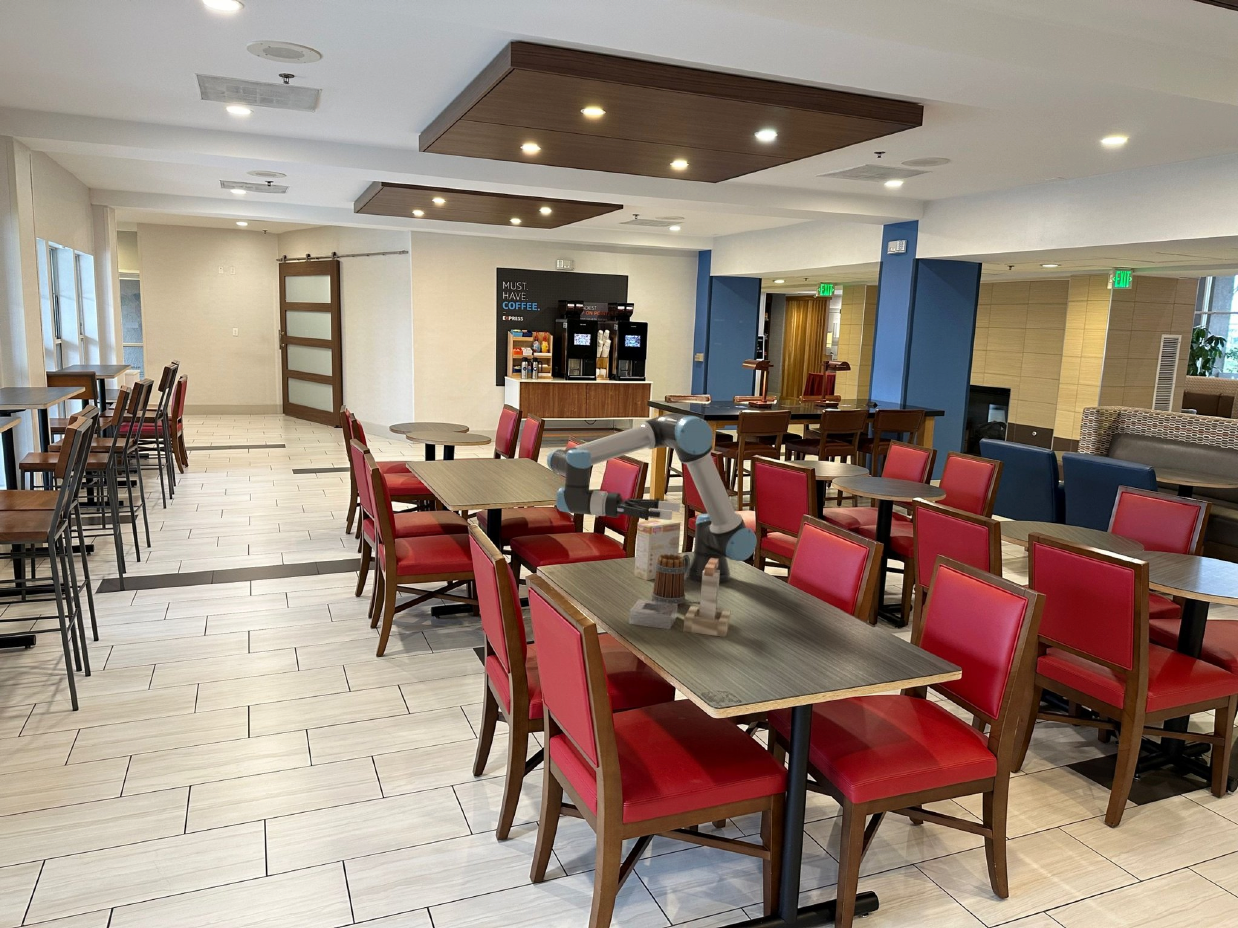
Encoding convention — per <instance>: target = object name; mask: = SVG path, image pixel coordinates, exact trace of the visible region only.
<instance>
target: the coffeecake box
mask: <svg viewBox="0 0 1238 928" xmlns="http://www.w3.org/2000/svg"><path fill="white" fill-rule="evenodd" d="M681 523H682V522H680V521H678V520H674V519H672V520H664V519H655V520H650V521H649V520H645V521H639V522H637V526H636V527H637V528H636V532H637V533H636V546H635V547H636V549H635V563H634V577H637V578H640V579H642V580H644V581H650V580H655V576H656V565H657V561H658V557H659V556H660V555H664V554H668V555H670V554H674V555H680V554H679V553H680V552H679V550H680V538H681V537H680V536H681Z"/></svg>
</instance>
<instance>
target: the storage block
mask: <svg viewBox="0 0 1238 928" xmlns="http://www.w3.org/2000/svg"><path fill="white" fill-rule="evenodd" d="M699 613H700V606H696V605H690V607H689V609H688V610H687V612H686V614H685V616H684V619H683V620H684V621H683V632H688V633H692V634H693V633H695V634H703V635H709V636H717V637H723V638H725V637H726V636H727V632H728V631H729V627H730V624H731V614H732V612H731V610H727V609H726V610H725V609H719V608H717V612H716V619H710V618H702V617H699Z"/></svg>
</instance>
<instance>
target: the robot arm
mask: <svg viewBox="0 0 1238 928" xmlns="http://www.w3.org/2000/svg"><path fill="white" fill-rule="evenodd" d="M713 438H714V433H713V429H712V428H711V426H710V424H709V423H708V421H706V420H705V419H702V418H701V417H698V416H696V415H687V414H683V413H679V412H671V413H665V414H663V415H659V416H656V417H654V418H651V419H648V420H644V421H641V423H640V424H639V426H636V427H633V428H629V429H626V430H623V431H620V432H617V433H613V434H610V435H607V436H605V437H601V438H598V439H595V440H592V441H589V442H585V443H582V444H578V445H576V446H573V447H569V448H567V449H562V448H561V449H559V448H558V449H554V450H552V451H550V452H549V454H548V456H547V458H546V464H547V467H548V469H550V470H551V471H552V472H553V473H554V474H557V475H560V476H563V477H564V478H565V481H564V486H563V487H560V488H558V490H557V493H556V499H555V502H556V503H555V505H556V508H557V510H559V512H564V513H569V514H578V515H579V514H580V515H590V516H595V518H599V516H600V517H605V516H606V517H607V518H619V516H620V515H624V516H628V517H633V518H638V519H641V520H645V521H649V519H655V520H662V519H664V520H673V512H675V513H679V512H680V507H681V503H680V502H675V501H674V502H673V501H666V500H663V501H662V500H660V498H659V497H657V498H655V499H653V498H652V499H649V498H648V499H647V498H631V497H630V498H629V497H628V498H627V499H626V500H625V499H624V500H623V499H622V497H623V496H622V494H621V493H620V492H612V491H609V492H608V491H603V490H595V489H594V490H592V489H590V486H591V485H590V482H591V481H590V479H591V467H592V466H594V465H598V464H601V463H603V462H606V461H610V460H613V459H616V458H619V457H622V456H625V455H629V454H630V453H634V452H637V451H639V450H644V449H649V450H654V449H657V448H670V449H674V452H675V454H676V457H677V458H678V460H679V462H680V463H682V464H684V465H686V468H687V469H688V471H689V473H690V476H691V478H692V481H693V483H694V486H695V487H696V490H697V492H698V494H699V496H700V499H701V501H702V503H703V506H704V508H705V510H706V513H700V514H698V515H697V517H696V520H695V531H694V532H695V535H694V547H693V555H692V559H690V568H689V573H688V576H687V578H689V579H692V580H694V581H697V582H700V583H702V574H703V571H704V569H705V566H706V565H707V563H708V561H709V560H710V558H717V559H719V562H718V568H717V570H720V574H719V584H720V583H726V582H729V581H730V579H731V571H730V568H729V563H728V560H732V561H736V562H742V561H745V560H747V559H748V558H750V557H751V556H752V555H753V553H754V552H755V549H756V548H757V544H758V543H757V535H756V533H755V532H754V531H753V530H752V529H751V528H748V527H747V525H746V523H745V521H744V519H743V516H742V515H741V514H740V513H737V512H736V511H735V509H734V506H733V505H732V502H731V500H730V497H729V495H728V492H727V490H726V486H724V482H723V481H722V479H721V478H722V477H721V476H720V474H719V471H718V469H717V466H716V465H715V462H714V459H713V456H712V455H711V453H712V451H713V448H714V447H713V445H712V443H713Z"/></svg>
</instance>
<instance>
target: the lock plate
mask: <svg viewBox="0 0 1238 928" xmlns="http://www.w3.org/2000/svg"><path fill="white" fill-rule="evenodd" d="M678 608H679V607H678V604H673V603H666V602H658V601H652V600H650V599H642V598H641V599H640V598H638V599H637V600H636V602H635V604H634V605H633V606H632V607H631V608H630V610H629V619H628V620H629V621H628V623H629V625H635V626H644V627H651V628H659V629H666V630H670V629H671V627H672V626H673V624H674V622H675V621H676V619H677V617H678Z"/></svg>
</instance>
